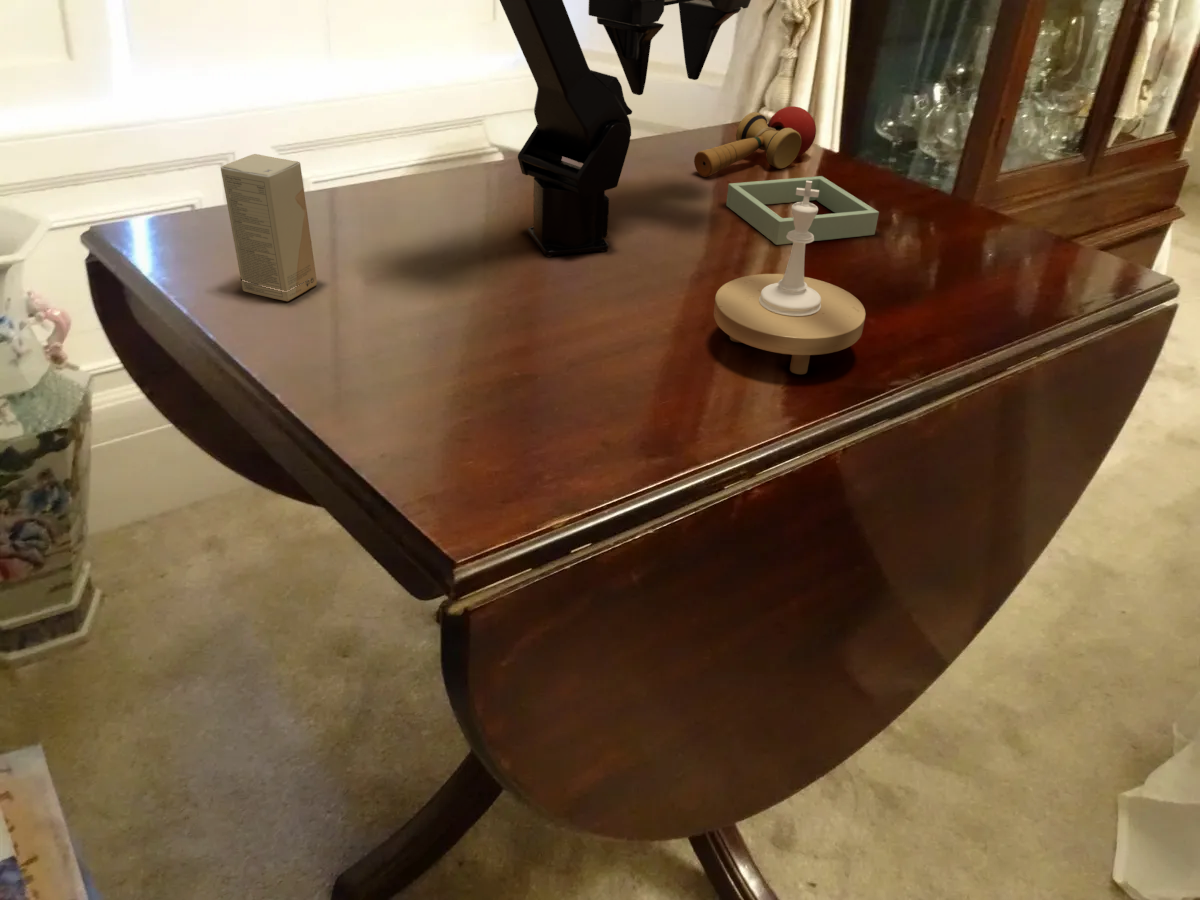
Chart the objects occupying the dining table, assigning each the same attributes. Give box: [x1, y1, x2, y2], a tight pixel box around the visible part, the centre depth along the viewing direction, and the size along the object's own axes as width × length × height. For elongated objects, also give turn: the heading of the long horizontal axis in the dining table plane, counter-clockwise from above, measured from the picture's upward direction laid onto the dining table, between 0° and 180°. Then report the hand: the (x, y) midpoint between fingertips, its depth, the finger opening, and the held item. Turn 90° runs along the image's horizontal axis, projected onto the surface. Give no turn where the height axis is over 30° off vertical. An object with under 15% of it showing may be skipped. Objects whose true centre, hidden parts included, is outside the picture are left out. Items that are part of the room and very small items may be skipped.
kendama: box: [693, 105, 817, 178], centre depth 124 cm, size 8×6×18 cm
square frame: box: [725, 175, 880, 246], centre depth 110 cm, size 12×12×2 cm
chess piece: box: [759, 180, 821, 316], centre depth 80 cm, size 5×5×10 cm
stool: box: [713, 273, 867, 375], centre depth 84 cm, size 12×12×4 cm
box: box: [220, 153, 318, 302], centre depth 88 cm, size 5×4×11 cm
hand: (665, 86), depth 104 cm, fingers open, 9 cm apart
